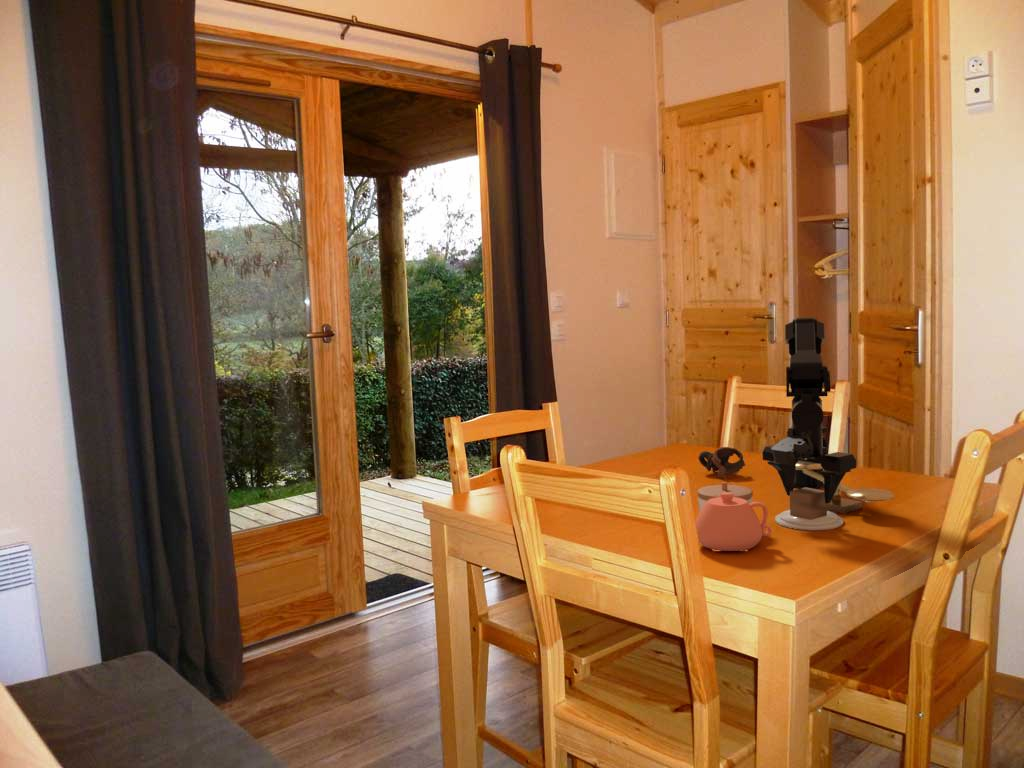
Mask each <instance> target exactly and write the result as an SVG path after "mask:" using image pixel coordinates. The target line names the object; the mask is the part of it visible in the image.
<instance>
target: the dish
mask: <svg viewBox="0 0 1024 768" xmlns="http://www.w3.org/2000/svg"><path fill="white" fill-rule="evenodd" d="M774 517H775V518H774V521H776V522H775V523H776V524H777V523H778V524H777V525H779V526H781V525H782V526H781V527H784V528H787V527H788V529H792V528H793V530H798V529H799V530H800V531H826V530H832V529H837V528H840V527H842V526H843V524H844V519H843V517H841V516H840V515H837V514H836V512H833V511H829V510H827V516H823V517H820V518H816V519H812V520H809V519H804V518H800V517H796V516H791V515H790V509H787V510H784V511H782V512H781V513H779V514H777V515H775V516H774Z"/></svg>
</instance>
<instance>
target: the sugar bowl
mask: <svg viewBox="0 0 1024 768" xmlns="http://www.w3.org/2000/svg"><path fill="white" fill-rule="evenodd" d="M720 496H721V497H717V498H712V499H709V500H708V501H707V502H706V503H705V505H704V506H703V508H702V510H701V511H700V510H699V512H698V513H699V514H698V515H697V518H696V519H695V520H696V521H695V524H694V526H695V525H696V529H697V534H698V539H699V541H698V542H699V543H700V544H701V545H702V546H703V547H704V548H707V549H710V550H712V549H714V550H722V551H721V552H723V551H724V552H732V551H733V552H734V551H735V552H737V551H738V552H740V551H739V550H742V551H745V550H749V549H752V548H754V547H756V546H757V544H758V543H759V542H760V541H761V539H762V537H767V536H769V535H771V534H772V532H773V531H772V527H771V526H770V525H768V524H766V523H767V520H768V516H769V515H768V514H769V511H768V507H767V506H766V505H765V504H764V503H763V502H760V501H752V503H750V504H749V503H748V502H747V501H746V500H745V499H742V498H737V497H733V496H734V493H731V492H723V493H720ZM755 507H760V508H762V511H763V512H762V517H761V521H760V519H759V516H758V515H757V513H756V512H755V510H754V508H755ZM765 529H767V531H765Z"/></svg>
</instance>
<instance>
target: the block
mask: <svg viewBox="0 0 1024 768" xmlns="http://www.w3.org/2000/svg"><path fill="white" fill-rule="evenodd" d="M789 510H790V515H791V516H796V517H800V518H804V519H809V520H812V519H816V518H820V517H823V516H827V511H828V510H827V504H826V503H825V497H824V490H823V489H818V488H816V489H812V488H807V487H805V488H796V489H793V491H790V496H789Z"/></svg>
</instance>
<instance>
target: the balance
mask: <svg viewBox="0 0 1024 768" xmlns="http://www.w3.org/2000/svg"><path fill="white" fill-rule="evenodd" d="M818 469H823V468H822V467H821V464H818V463H812V462H805V461H798V462H797V463H796V470H802V471H803V473H805V474H807V475H809V476H811V477H814V478H816V479H818V480H820V481H822V482H823V483H824V477H823V476H822V475H820V474H818V473H816V472H814V471H812V470H818ZM823 470H824V469H823ZM842 492H844V493H846V496H847V498H844V497H842ZM849 498H850V499H849ZM894 498H895V493H893V491H890V490H886V489H879V488H867V487H866V488H865V487H863V488H854V489H852V488H851V487H849V486H847V485H844V484H842V482H840V483H839V485H838V487H837V490H836V492H835V494H834V496H833V498H832V500H831V502H830V503H828V504H827V511H830V512H833V513H838V512H840V513H839V514H843V513H845V514H848V513H847V512H849V513H851V511H852V512H855V511H854V510H856V511H858V510H857V509H859V510H862V509H863V502H865V503H868V504H869V503H871V502H883V501H889V500H892V499H894ZM861 508H862V509H861Z"/></svg>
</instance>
